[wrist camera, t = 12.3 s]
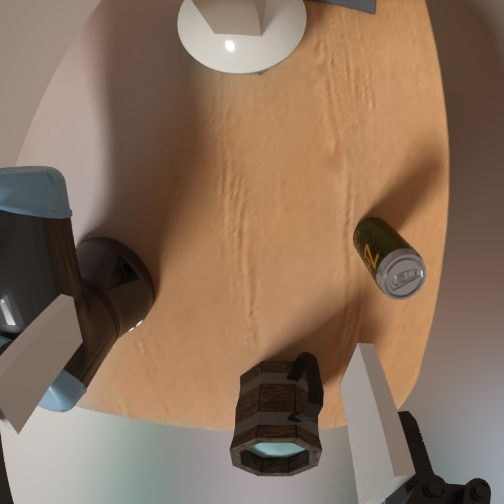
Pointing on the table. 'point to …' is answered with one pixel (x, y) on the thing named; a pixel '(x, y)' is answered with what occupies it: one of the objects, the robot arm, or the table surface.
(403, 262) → the beer can
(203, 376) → the table surface
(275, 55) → the lid
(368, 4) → the mat
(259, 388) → the mug
